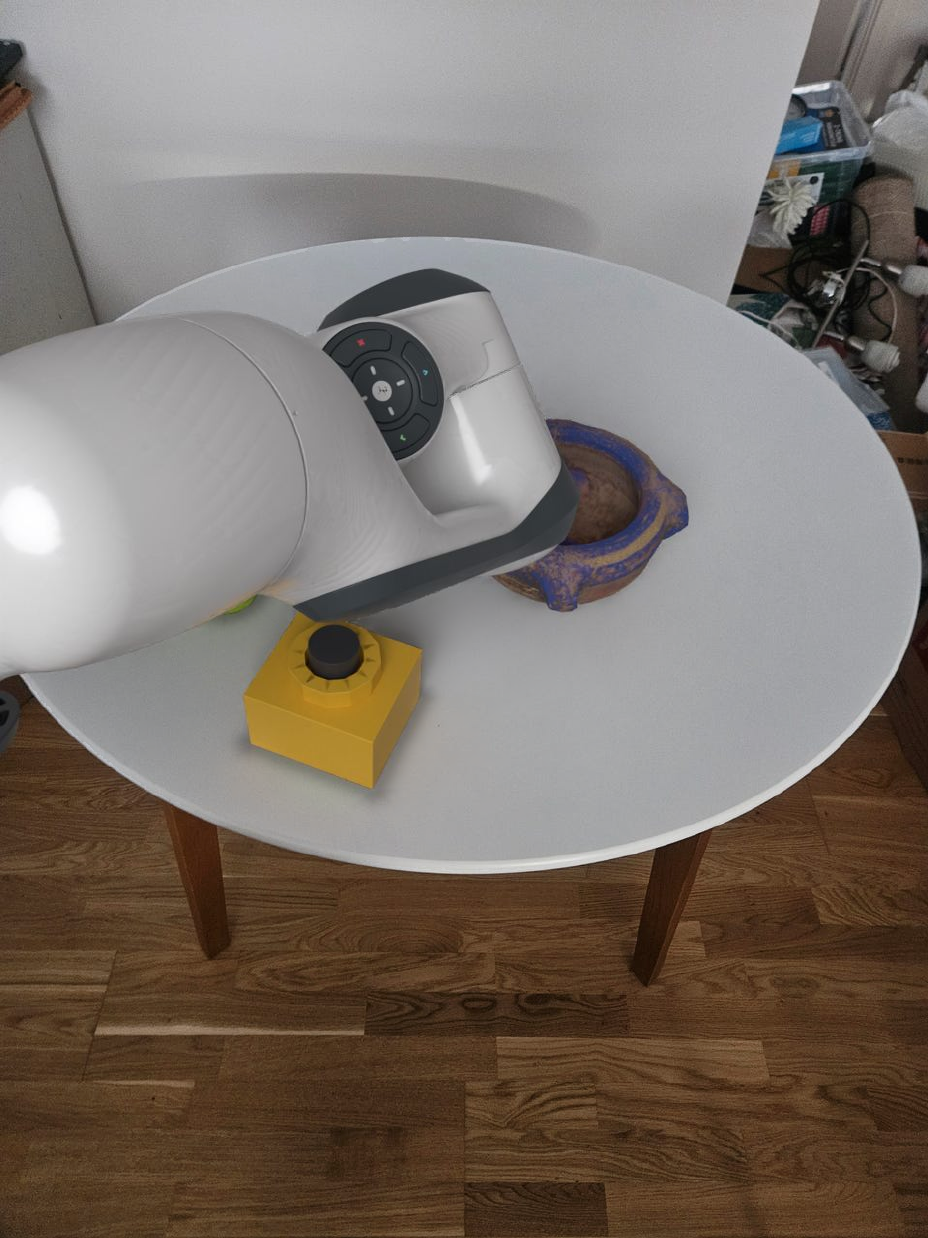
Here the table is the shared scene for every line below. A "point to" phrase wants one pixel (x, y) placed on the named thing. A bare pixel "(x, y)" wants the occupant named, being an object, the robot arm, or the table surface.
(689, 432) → the table surface
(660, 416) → the table surface
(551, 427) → the bowl
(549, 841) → the table surface
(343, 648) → the black cylinder
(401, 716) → the yellow push button box
